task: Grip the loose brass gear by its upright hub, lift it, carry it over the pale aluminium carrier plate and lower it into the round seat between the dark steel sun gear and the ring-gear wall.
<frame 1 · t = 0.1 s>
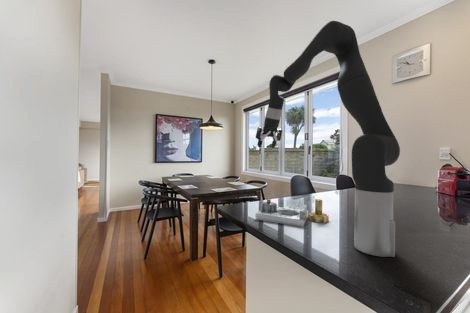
hand: (266, 147, 112), 31 cm above the kitchen counter, tool tilted 20°, fingers open, 8 cm apart
carrier: (282, 217, 90), on the kitchen counter
planet gear: (318, 219, 88), on the kitchen counter
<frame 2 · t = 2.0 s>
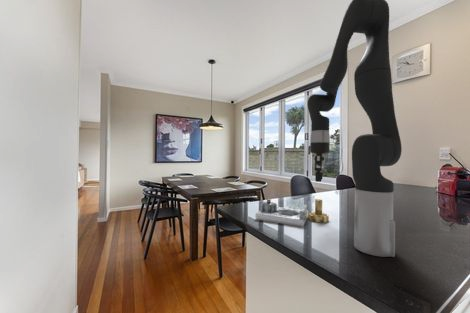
hand: (319, 180, 88), 17 cm above the kitchen counter, tool pointing down, fingers open, 8 cm apart
nothing on the kitchen counter moved.
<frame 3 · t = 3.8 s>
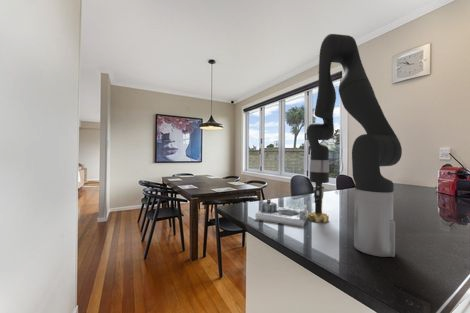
hand: (318, 211, 88), 3 cm above the kitchen counter, tool pointing down, fingers closed on planet gear, 3 cm apart
planet gear: (318, 219, 88), on the kitchen counter, touching gripper
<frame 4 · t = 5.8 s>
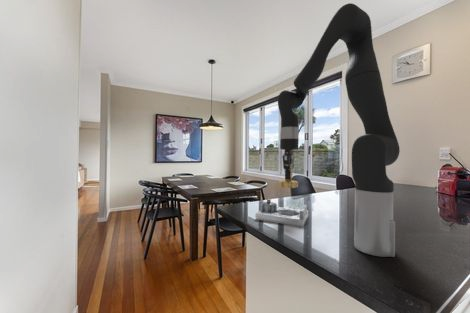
hand: (288, 178, 89), 17 cm above the kitchen counter, tool pointing down, fingers closed on planet gear, 3 cm apart
planet gear: (288, 186, 89), point 14 cm above the kitchen counter, touching gripper
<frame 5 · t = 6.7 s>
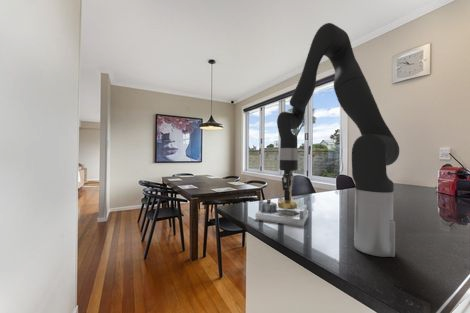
hand: (287, 199, 89), 8 cm above the kitchen counter, tool pointing down, fingers closed on planet gear, 3 cm apart
planet gear: (287, 207, 89), point 5 cm above the kitchen counter, touching gripper
when the fingers open (5 cm above the kitchen counter, at t = 7.6 s): planet gear drops 1 cm, resting in carrier.
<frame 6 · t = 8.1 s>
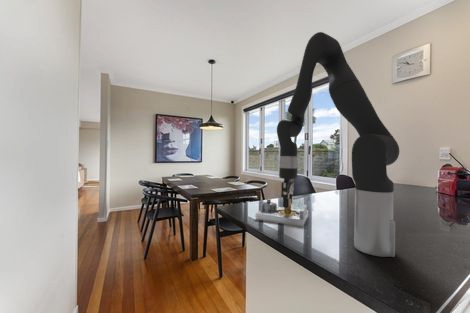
hand: (287, 205, 89), 6 cm above the kitchen counter, tool pointing down, fingers open, 7 cm apart
planet gear: (287, 218, 89), resting in carrier
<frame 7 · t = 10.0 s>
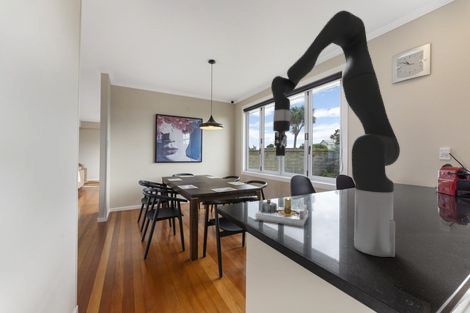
hand: (280, 155, 97), 27 cm above the kitchen counter, tool pointing down, fingers open, 8 cm apart
nothing on the kitchen counter moved.
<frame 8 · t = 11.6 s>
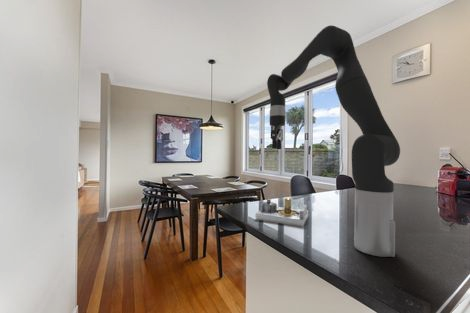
hand: (276, 148, 103), 30 cm above the kitchen counter, tool pointing down, fingers open, 8 cm apart
nothing on the kitchen counter moved.
at the end: planet gear 0.1 cm from the target spot on the carrier, point 0.0 cm above the carrier's base; planet gear tilted 0°; the gripper is holding nothing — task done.
